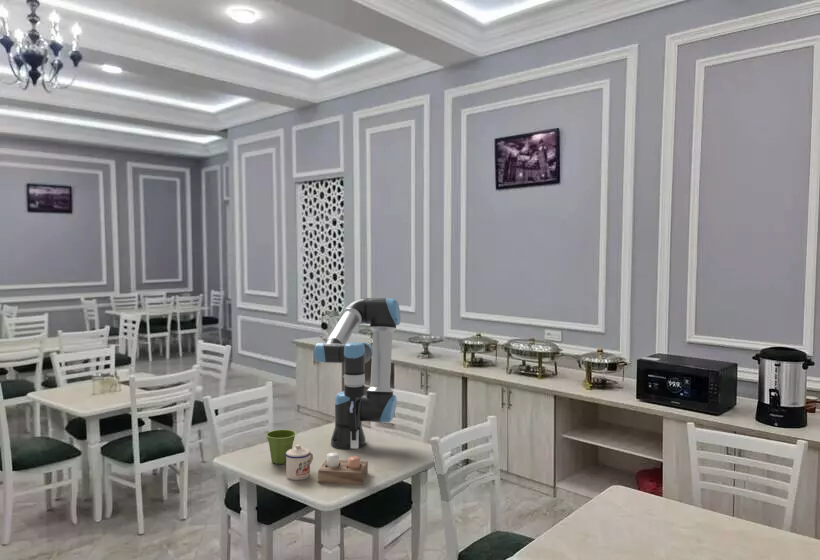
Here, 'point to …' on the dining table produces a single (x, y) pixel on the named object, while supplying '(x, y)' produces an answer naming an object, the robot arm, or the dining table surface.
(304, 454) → the teacup with lid
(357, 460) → the brown egg
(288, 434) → the plant pot
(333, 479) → the wooden egg holder
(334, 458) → the white egg
